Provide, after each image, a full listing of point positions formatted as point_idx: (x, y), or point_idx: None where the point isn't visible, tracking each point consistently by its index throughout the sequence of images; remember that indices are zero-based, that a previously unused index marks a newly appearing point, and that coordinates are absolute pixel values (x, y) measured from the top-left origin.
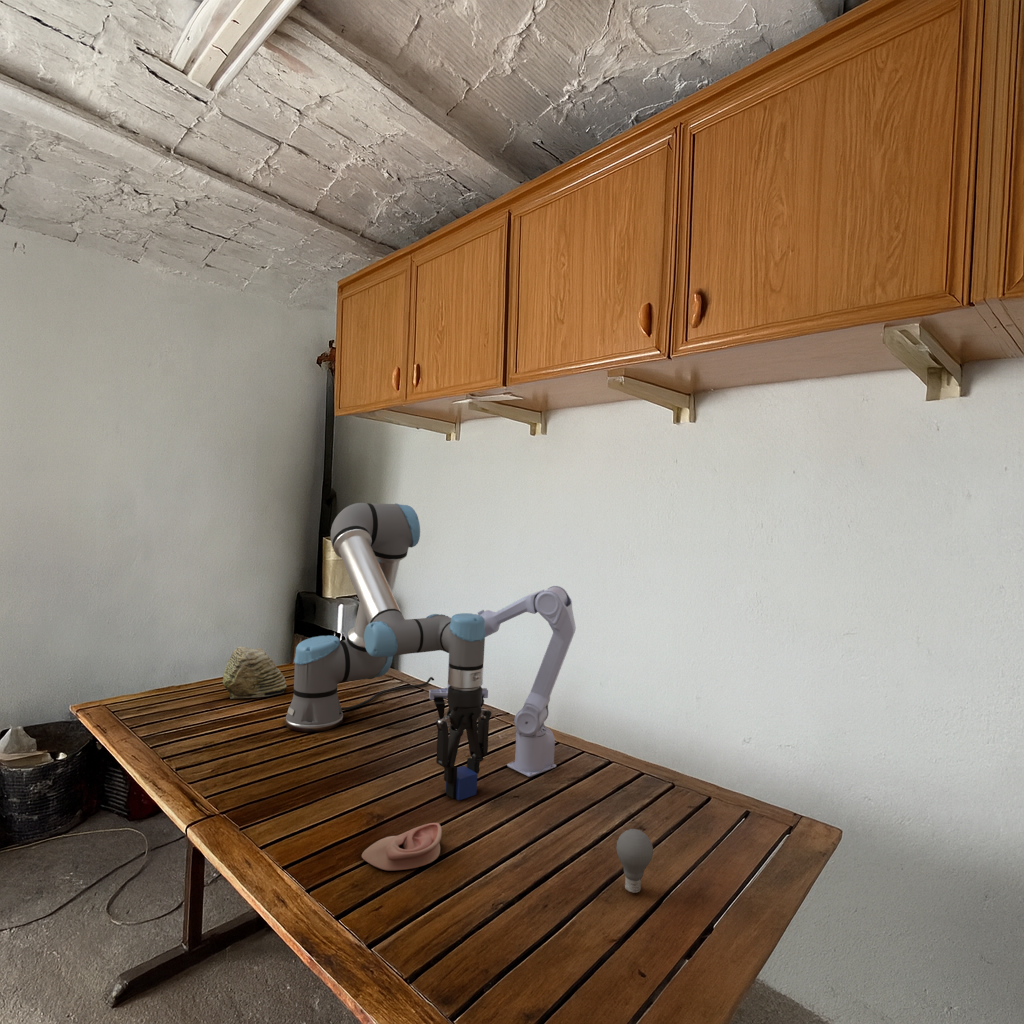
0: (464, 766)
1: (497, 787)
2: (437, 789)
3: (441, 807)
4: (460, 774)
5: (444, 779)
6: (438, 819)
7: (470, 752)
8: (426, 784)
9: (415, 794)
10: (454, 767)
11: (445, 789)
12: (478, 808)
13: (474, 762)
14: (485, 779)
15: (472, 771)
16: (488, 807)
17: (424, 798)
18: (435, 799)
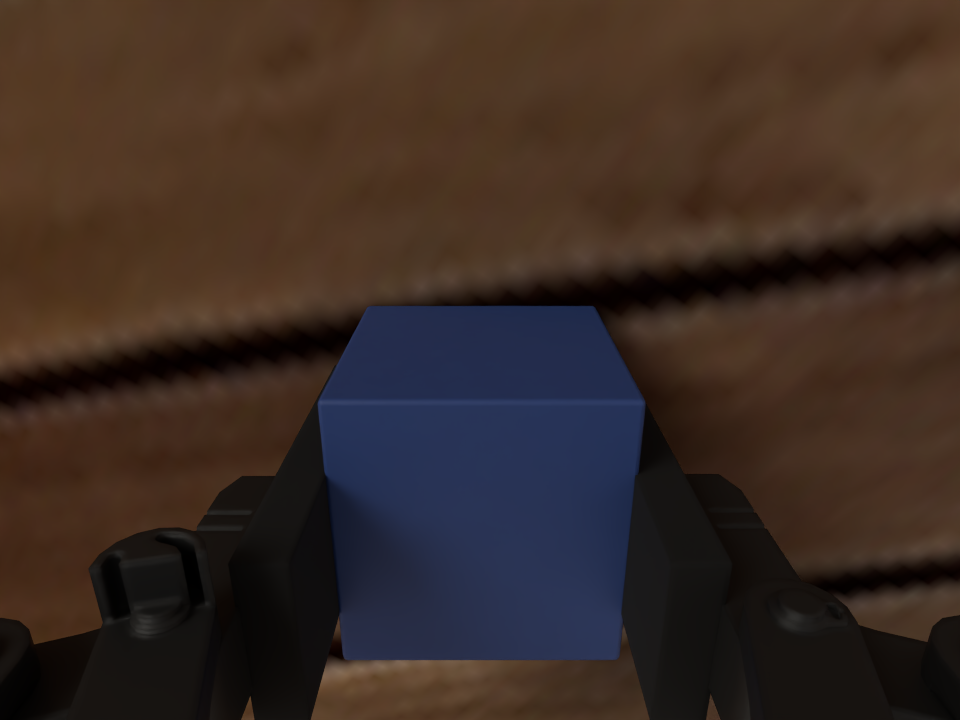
0: (631, 430)
1: (833, 499)
2: (329, 205)
3: (193, 509)
4: (423, 583)
5: (227, 494)
6: (91, 629)
7: (748, 673)
8: (278, 11)
9: (61, 164)
10: (272, 705)
11: (363, 315)
12: (445, 661)
13: (650, 715)
14: (892, 310)
15: (609, 595)
16: (518, 686)
17: (118, 295)
18: (209, 370)
